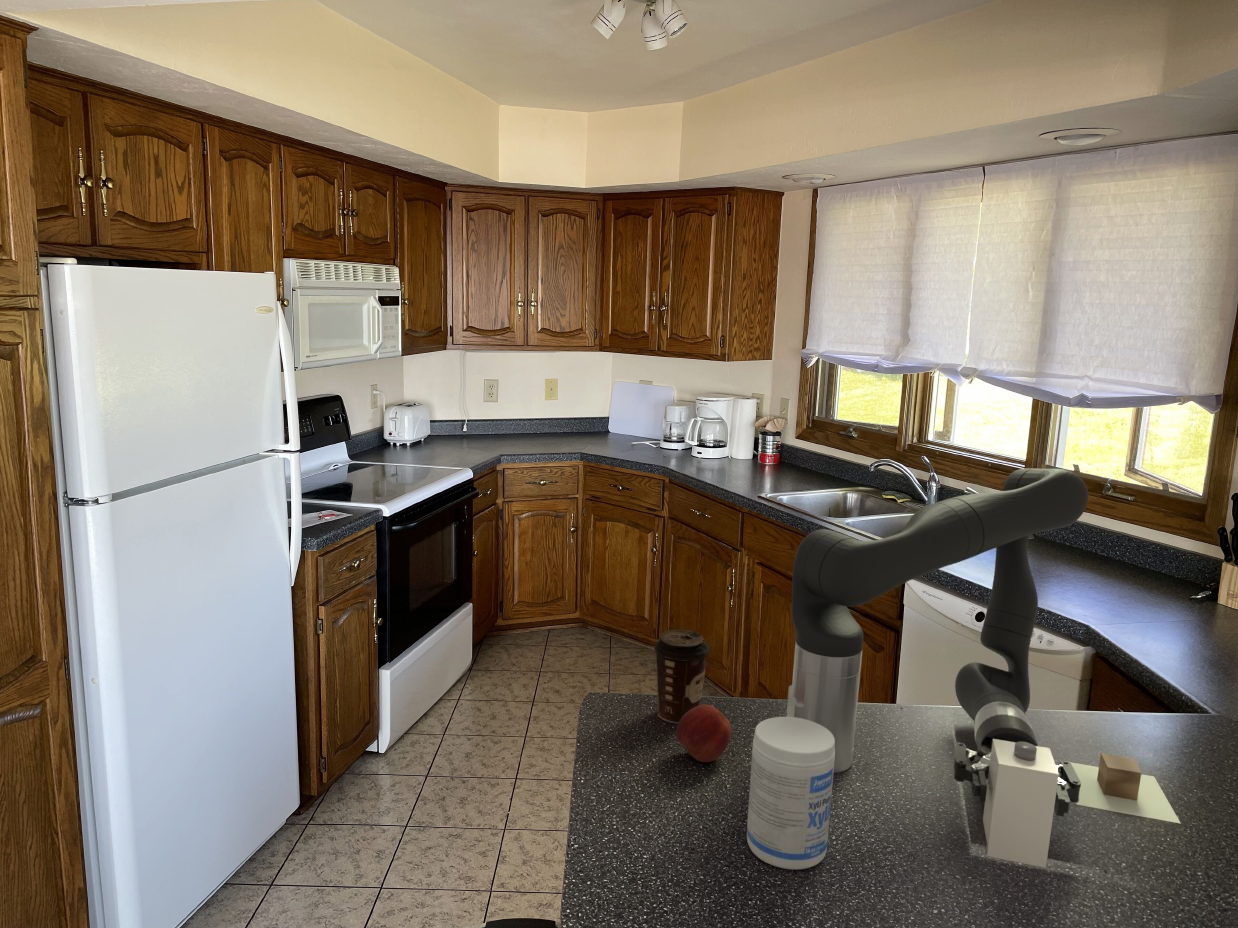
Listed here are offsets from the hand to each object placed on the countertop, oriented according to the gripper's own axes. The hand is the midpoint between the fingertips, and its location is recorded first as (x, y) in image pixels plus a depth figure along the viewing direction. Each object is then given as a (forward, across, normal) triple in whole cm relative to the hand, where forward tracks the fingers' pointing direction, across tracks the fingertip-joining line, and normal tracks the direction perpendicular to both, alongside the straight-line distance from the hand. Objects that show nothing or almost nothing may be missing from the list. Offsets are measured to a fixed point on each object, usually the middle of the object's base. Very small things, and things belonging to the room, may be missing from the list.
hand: (1021, 801), depth 102 cm
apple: (-9, -40, +7) cm, 42 cm away
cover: (-2, 0, +7) cm, 7 cm away
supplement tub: (+8, -26, +7) cm, 29 cm away
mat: (-19, +15, +7) cm, 25 cm away
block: (-19, +15, +6) cm, 25 cm away
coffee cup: (-20, -46, +7) cm, 51 cm away
